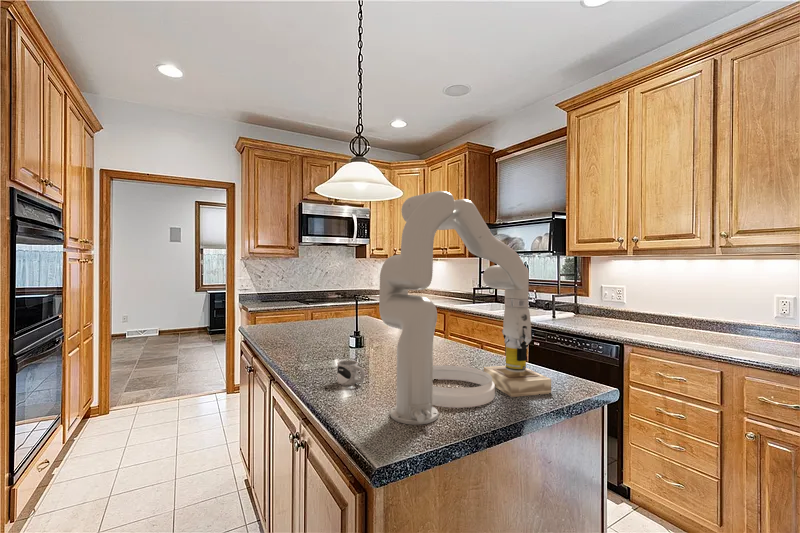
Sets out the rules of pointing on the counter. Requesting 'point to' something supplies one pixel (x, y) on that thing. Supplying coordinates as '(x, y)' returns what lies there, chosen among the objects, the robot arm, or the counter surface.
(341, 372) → the mug
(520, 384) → the socket block
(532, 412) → the counter surface
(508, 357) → the pill bottle
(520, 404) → the counter surface
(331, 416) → the counter surface
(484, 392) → the white open ring
